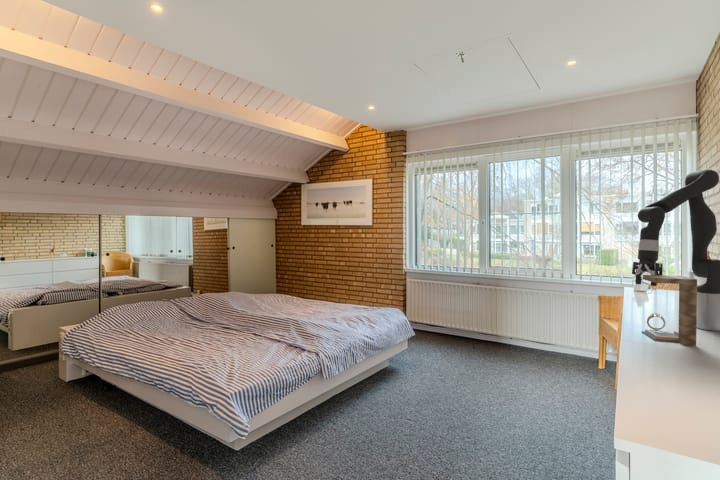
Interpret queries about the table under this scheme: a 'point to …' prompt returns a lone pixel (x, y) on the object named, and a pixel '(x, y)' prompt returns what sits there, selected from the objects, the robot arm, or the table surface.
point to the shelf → (683, 305)
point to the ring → (656, 316)
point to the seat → (662, 336)
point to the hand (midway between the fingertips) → (645, 285)
